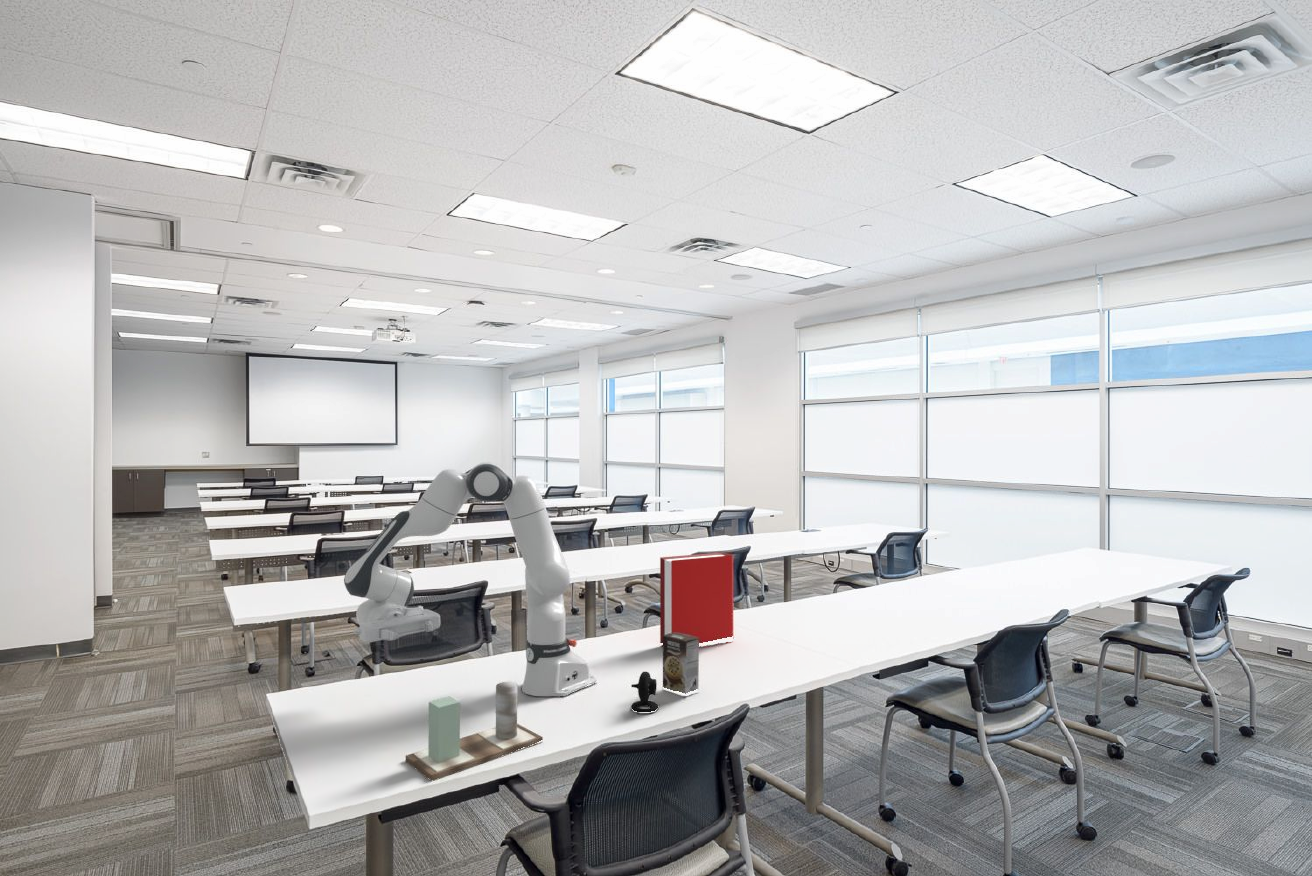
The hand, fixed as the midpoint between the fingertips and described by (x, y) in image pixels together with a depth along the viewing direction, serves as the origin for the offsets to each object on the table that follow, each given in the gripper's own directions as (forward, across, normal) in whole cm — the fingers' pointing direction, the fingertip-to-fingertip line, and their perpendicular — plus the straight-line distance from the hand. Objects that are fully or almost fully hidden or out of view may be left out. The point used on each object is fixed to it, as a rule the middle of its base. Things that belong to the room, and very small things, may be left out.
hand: (413, 632), depth 172 cm
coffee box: (+29, +67, +26) cm, 77 cm away
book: (0, +107, +26) cm, 110 cm away
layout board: (+24, +4, +24) cm, 34 cm away
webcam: (+32, +50, +25) cm, 65 cm away
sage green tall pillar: (+24, -4, +23) cm, 33 cm away
